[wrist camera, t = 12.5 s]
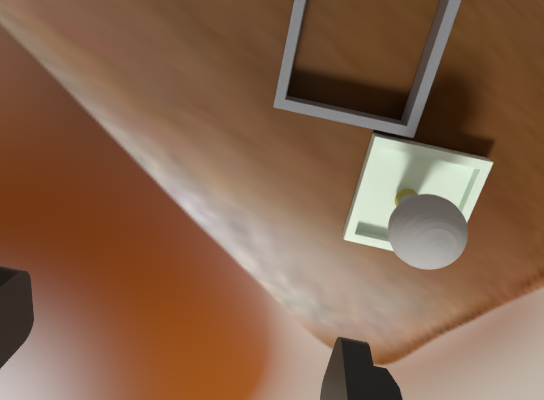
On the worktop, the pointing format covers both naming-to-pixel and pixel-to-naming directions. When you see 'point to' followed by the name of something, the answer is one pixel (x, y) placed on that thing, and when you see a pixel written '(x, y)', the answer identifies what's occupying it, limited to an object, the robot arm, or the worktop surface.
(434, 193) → the tray
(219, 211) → the worktop surface
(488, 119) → the worktop surface
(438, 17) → the case
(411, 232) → the light bulb
